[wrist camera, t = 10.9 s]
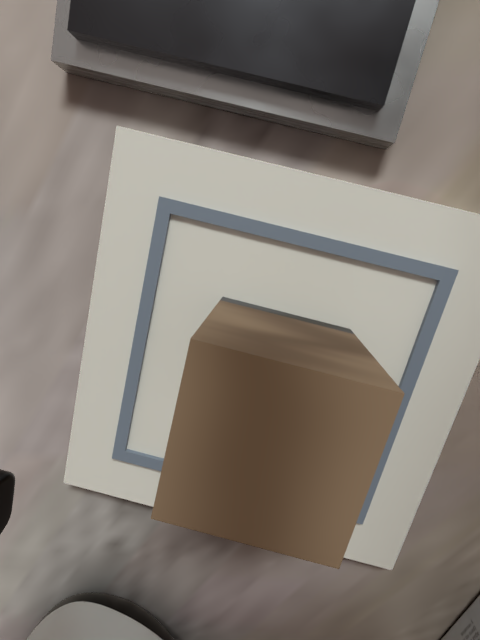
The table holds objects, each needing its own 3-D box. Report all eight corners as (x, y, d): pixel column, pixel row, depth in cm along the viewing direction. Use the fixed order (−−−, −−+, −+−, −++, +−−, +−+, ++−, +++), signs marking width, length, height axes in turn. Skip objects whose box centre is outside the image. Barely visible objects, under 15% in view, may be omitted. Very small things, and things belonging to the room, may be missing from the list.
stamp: (350, 328, 14) (405, 393, 9) (313, 443, 16) (339, 569, 10) (222, 296, 14) (190, 338, 9) (195, 412, 16) (150, 518, 10)
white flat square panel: (519, 227, 14) (538, 227, 13) (386, 555, 17) (393, 574, 16) (125, 131, 14) (114, 124, 13) (72, 471, 18) (61, 485, 17)
